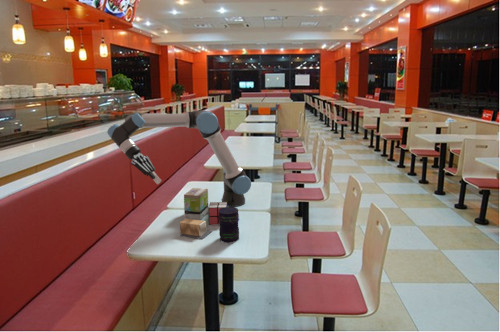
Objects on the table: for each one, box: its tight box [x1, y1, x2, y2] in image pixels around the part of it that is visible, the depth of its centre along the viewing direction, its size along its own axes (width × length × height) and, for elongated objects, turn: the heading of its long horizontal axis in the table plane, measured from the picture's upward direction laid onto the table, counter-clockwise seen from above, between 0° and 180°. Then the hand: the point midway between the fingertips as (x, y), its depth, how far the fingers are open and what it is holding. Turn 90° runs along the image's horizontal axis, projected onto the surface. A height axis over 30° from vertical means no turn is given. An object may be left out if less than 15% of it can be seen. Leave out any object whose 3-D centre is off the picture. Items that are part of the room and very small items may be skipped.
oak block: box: [179, 218, 208, 236], centre depth 204 cm, size 6×6×12 cm
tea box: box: [183, 187, 209, 221], centre depth 230 cm, size 15×10×15 cm
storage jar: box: [218, 206, 240, 244], centre depth 196 cm, size 10×10×15 cm
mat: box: [179, 229, 213, 240], centre depth 204 cm, size 13×11×1 cm
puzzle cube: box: [208, 201, 229, 226], centre depth 220 cm, size 10×10×10 cm
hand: (159, 182), depth 206 cm, fingers closed
